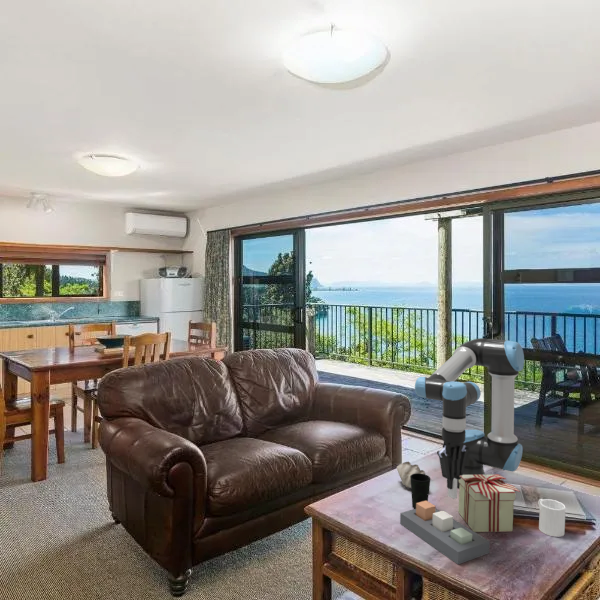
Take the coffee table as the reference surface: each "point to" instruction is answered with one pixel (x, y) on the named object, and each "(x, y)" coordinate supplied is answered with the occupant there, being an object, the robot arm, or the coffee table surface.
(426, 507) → the peach cube
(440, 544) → the key panel
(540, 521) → the mug
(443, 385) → the robot arm
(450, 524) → the ivory key
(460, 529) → the sage key
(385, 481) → the coffee table surface
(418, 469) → the seashell
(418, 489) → the cup
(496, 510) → the gift box
